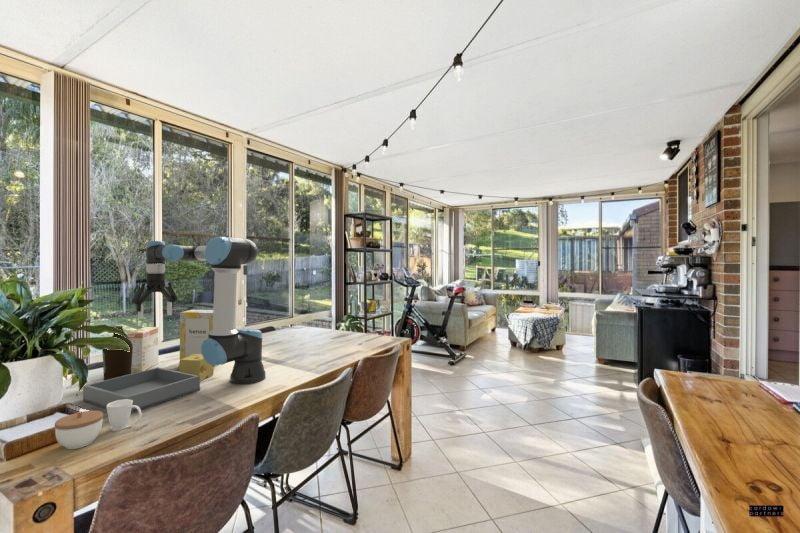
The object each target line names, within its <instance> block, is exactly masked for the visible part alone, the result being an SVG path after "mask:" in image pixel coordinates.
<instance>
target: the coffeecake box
mask: <svg viewBox="0 0 800 533" xmlns="http://www.w3.org/2000/svg"><path fill="white" fill-rule="evenodd" d="M128 337H129V340H130V341H131V342H132V345H133V353H132V367H131V373H136V372H140V371H144V370H149V369H152V368H153V367H155V366H156V365H158V364H159V326H144V327H141V328H139V329H135V330H132V331H128V332H127V338H128Z"/></svg>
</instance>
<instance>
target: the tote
mask: <svg viewBox="0 0 800 533" xmlns="http://www.w3.org/2000/svg"><path fill="white" fill-rule="evenodd" d="M83 386H84V385H83ZM83 386H82V387H83ZM200 390H201V381H200V376H198V375H193V374H188V373H183V372H179V370H172V369H169V368H164V367H159V366H158V367H154V368H153V367H152V368H149V369H147V370H145V371H140V372H131V374H128V375H124V376H120V377H116V378H112V379H108V380H104V379H103V380H102V381H101V380H100V381H97V382H94V383H93V382H92V383H89V384H85V386H84V387H83V388H82V401H83V402H84V403H88V404H90V405H94V406H97V407H100V408H103V409H106V410H107V408H106V406H107V405H108V403H111V402H114V401H117V400H123V399H130V400H133V403H132V405H136V406H138V407H139V408H140V409H141V411H142V410H145V409H148V408H151V407H154V406H157V405H159V404H163V403H166V402H169V401H171V400H175V399H177V397H178V398H180V396H181V397H184V396H186V394H187V395H190V394H193V393H196V392H198V391H200ZM189 393H190V394H189ZM183 395H184V396H183ZM136 412H137V413H138V410H137V409H136V408H135V407H133V408H132V409H131V414H134V413H136Z"/></svg>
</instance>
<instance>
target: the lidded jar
mask: <svg viewBox="0 0 800 533" xmlns="http://www.w3.org/2000/svg"><path fill="white" fill-rule="evenodd" d="M103 418H104V412H103V411H100V410H87V411H86V410H85V411H77V412H75V413H72V414H68V415H66V416H63V417H61V418H59V419H57V420H56V421H55V422H54V432H55V439H56V441H57V443H58V444H59V445H61V446H62V447H65V450H75V449H77V450H78V449H80V448H84V446H85V447H86V446H90V445H91V444H93V442H94V440H95V439H97V437H98V436H99V434H100V433H101V431H102V428H103Z"/></svg>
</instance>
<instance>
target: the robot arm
mask: <svg viewBox="0 0 800 533" xmlns="http://www.w3.org/2000/svg"><path fill="white" fill-rule="evenodd" d="M145 251H146V252H145V254H146V255H145V256H146V258H145V259H146V276H145V279H146V282H145V283H142V282H141V283H139V285H138V289H137V290H136V293H135V294H134V296H133V298H132V300H131V304H134V305H136V306H135V310H136V312H137V319H139V320H142V319H144V304H143V303H144V302H145V301H146V300H147V298H148V297H149V296H150V295H151V294H152V293H161V294H162V296H163V297H165V298H166V300H167V302H166V315H167V316H172V315H173V309H174V302H176V301H177V300H178V297H177V294H176V293H175V290H174V288H173V287H172V283H171V281H170V282H169V281H166V273H165V272H166V261H169V262H180V261H181V262H185V261H186V262H205V261H206V262H207V263H208V264H210V269H211V270H212V271H213V272H214V282H213V284H214V285H213V308H212V310H213V328H212V330H211V331H209V332H208V339H206V340H204V341H203V343H202V345H201V352H202V355H203V358H204V359H205V361H206V362H207V363H209V364H210V365H214V366H215V365H218V366H222V365H225V364H227V363H231V362H234V364H233V367H232V372H231V373H230V376H229V381H230V382H231V383H232V384H238V385H239V384H241V385H243V384H244V385H245V384H246V385H247V384H252V383H253V384H254V383H258V382H261V381H263V380H265V379H266V371H265V367H264V364H263V361H262V359H263V356H262V355H263V334H262V331H261V330H260V329H255V328H236V327H235V326H236V307H237V306H236V303H237V302H236V301H237V282H238V272H239V271H241V269H242V265H249V264H252V263H253V262H254V261H255V260H256V259H257V257H258V254H259V249H258V247H257V245H256V244H255V242H254V241H252V239H251V240H250V239H248V238H241V237H231V236H215V237H213V238H211V239H210V240H209V241H208V242H207V244H206V245H180V244H179V245H178V244H166V242H165V241H162V240H148V241H147V242H146V248H145ZM165 288H166V289H165Z"/></svg>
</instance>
